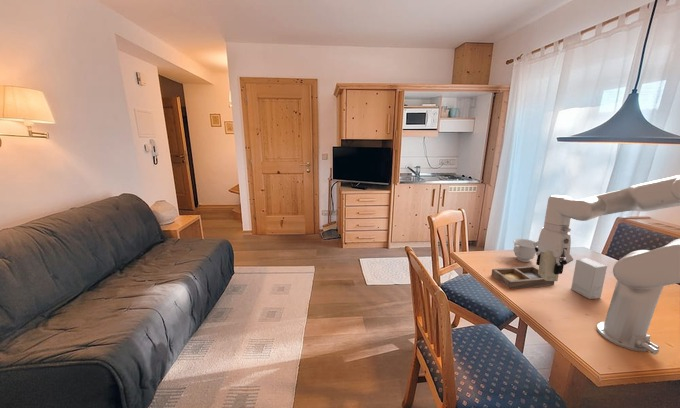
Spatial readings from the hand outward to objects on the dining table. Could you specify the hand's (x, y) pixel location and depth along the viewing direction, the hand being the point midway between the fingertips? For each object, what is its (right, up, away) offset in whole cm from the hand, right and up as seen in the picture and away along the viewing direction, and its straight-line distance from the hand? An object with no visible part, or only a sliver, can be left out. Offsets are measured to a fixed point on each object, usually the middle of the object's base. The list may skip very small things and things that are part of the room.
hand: (548, 268), depth 107 cm
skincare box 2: (+22, -13, +9) cm, 27 cm away
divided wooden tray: (+2, -10, +19) cm, 22 cm away
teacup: (+16, -5, +39) cm, 42 cm away
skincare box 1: (0, -4, +1) cm, 4 cm away
